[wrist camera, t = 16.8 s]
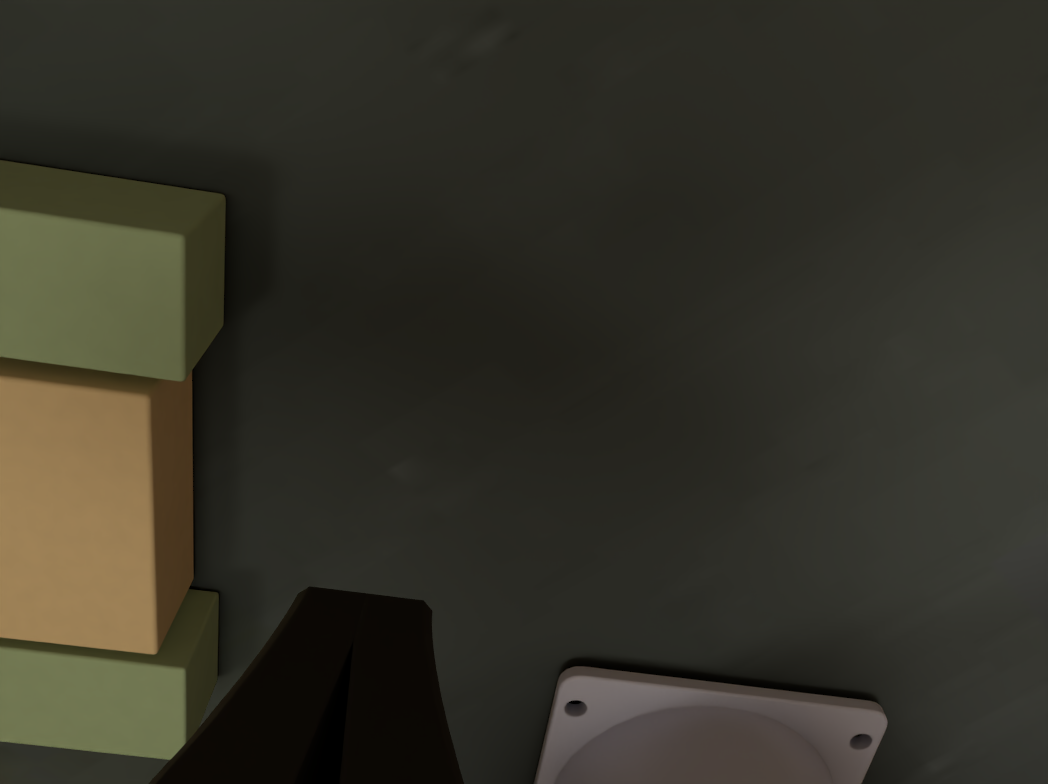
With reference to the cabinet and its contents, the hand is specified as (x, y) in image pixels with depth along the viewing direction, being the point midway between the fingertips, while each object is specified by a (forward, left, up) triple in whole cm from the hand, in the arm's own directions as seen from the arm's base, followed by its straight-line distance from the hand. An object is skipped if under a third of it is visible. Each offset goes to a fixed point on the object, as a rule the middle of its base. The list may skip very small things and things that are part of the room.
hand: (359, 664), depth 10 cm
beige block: (-4, +7, -9) cm, 12 cm away
